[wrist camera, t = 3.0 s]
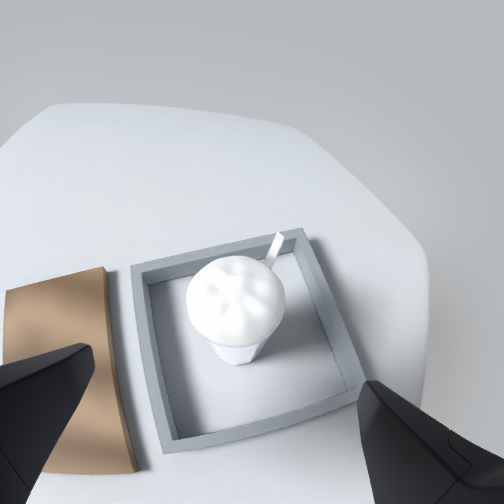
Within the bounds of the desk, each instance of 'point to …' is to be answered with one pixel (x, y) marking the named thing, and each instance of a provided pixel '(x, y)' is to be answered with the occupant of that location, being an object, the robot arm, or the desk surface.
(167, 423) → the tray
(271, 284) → the milkshake
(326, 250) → the desk surface
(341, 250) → the desk surface
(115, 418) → the board
